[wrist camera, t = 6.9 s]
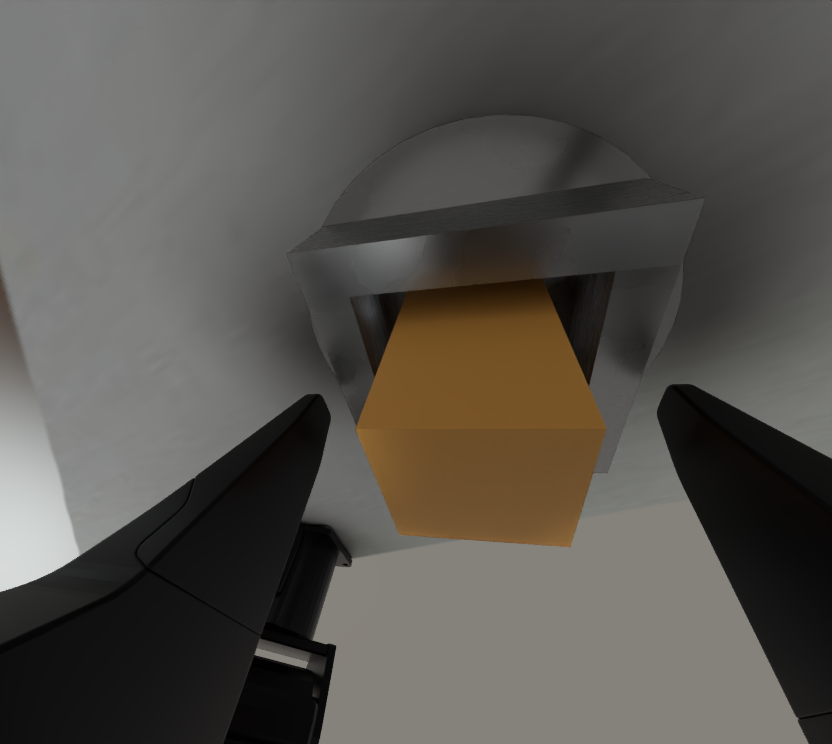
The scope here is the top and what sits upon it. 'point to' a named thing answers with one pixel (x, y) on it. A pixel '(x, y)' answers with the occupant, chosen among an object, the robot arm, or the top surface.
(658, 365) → the top surface
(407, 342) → the orange rectangular block
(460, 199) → the rosette collar
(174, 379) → the top surface
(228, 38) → the top surface
